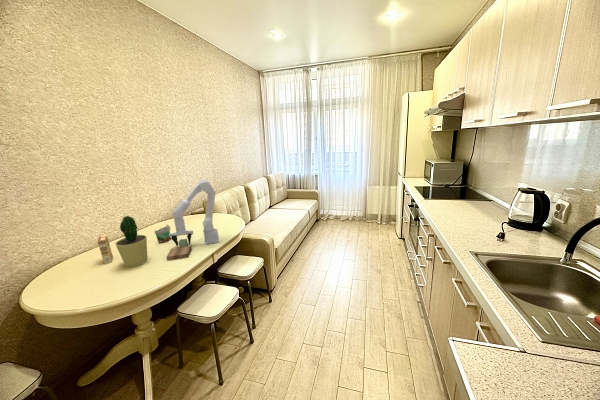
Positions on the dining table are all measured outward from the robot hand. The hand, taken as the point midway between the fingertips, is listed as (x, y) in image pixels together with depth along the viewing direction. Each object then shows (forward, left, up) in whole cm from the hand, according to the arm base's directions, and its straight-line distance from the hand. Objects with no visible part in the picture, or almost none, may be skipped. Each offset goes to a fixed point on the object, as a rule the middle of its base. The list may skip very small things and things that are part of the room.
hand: (183, 245), depth 163 cm
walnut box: (0, +12, -2) cm, 12 cm away
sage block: (0, 0, -2) cm, 2 cm away
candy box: (+43, +5, -2) cm, 43 cm away
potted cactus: (+24, +14, -2) cm, 28 cm away
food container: (+15, -17, -2) cm, 23 cm away
